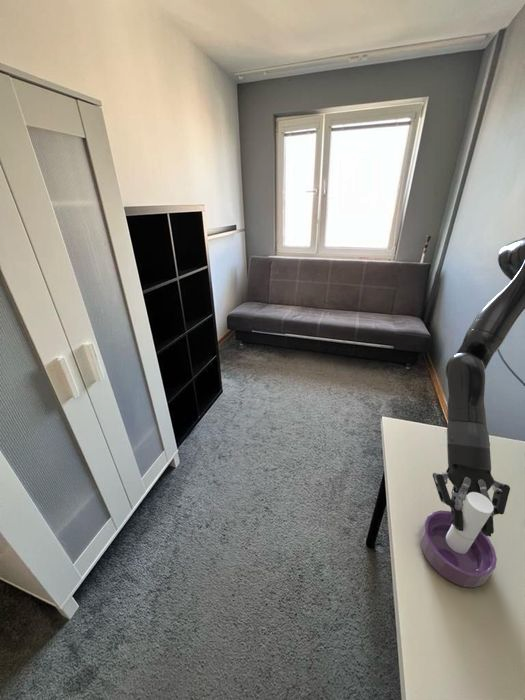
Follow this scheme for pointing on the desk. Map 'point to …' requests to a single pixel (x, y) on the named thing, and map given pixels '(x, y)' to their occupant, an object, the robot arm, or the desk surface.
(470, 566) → the bowl
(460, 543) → the tube
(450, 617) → the desk surface
